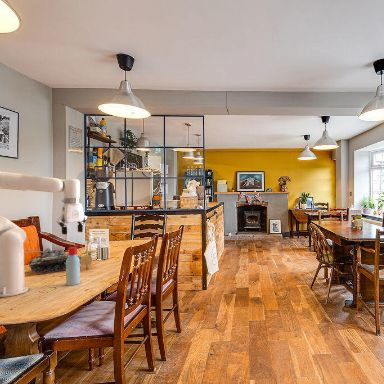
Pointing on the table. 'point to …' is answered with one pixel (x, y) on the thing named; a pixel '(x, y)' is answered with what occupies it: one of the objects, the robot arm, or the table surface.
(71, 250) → the cap
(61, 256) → the tank
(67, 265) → the bottle
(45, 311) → the table surface
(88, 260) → the wall sconce
